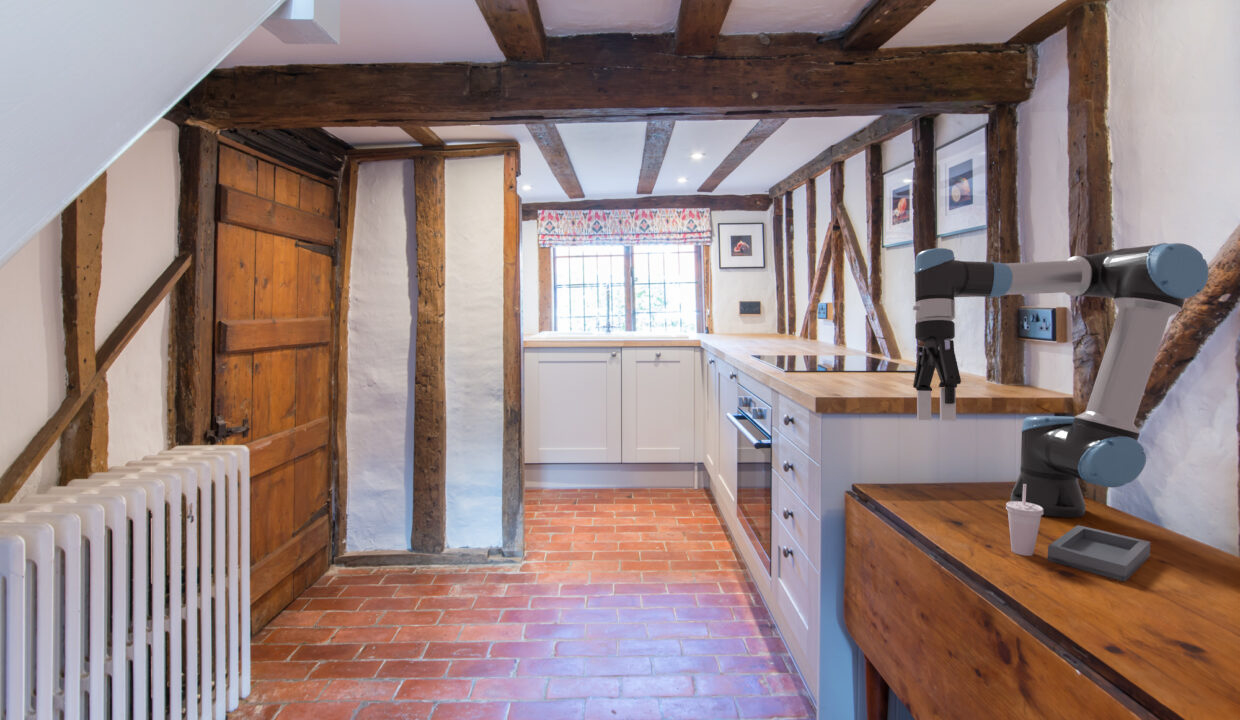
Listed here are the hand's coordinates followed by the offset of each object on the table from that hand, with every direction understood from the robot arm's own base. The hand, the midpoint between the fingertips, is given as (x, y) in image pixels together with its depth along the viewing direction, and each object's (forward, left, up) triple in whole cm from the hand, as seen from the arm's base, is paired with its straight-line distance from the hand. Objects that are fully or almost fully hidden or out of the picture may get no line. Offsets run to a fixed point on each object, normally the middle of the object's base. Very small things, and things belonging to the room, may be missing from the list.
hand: (935, 420), depth 127 cm
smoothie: (-8, +15, -26) cm, 31 cm away
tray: (-16, +25, -26) cm, 40 cm away
